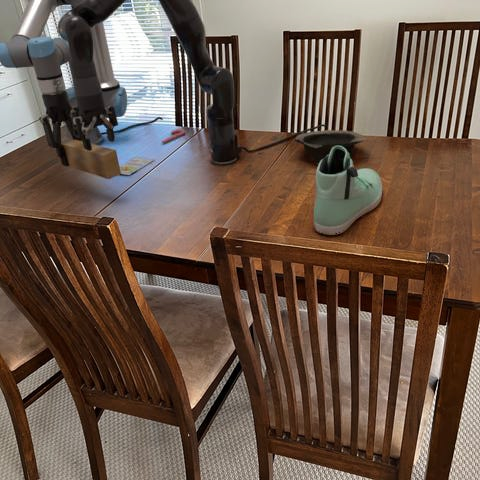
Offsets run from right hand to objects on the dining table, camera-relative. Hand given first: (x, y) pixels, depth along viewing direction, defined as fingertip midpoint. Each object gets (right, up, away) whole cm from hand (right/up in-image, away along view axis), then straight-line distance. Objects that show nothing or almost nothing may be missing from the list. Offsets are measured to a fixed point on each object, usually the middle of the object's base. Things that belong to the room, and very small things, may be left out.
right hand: (100, 145), depth 145 cm
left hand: (-13, -3, +14) cm, 20 cm away
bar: (-6, -6, +10) cm, 13 cm away
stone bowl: (+75, +2, +28) cm, 80 cm away
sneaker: (+74, -20, -6) cm, 77 cm away
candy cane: (+14, +14, +57) cm, 60 cm away
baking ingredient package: (+2, -2, +33) cm, 33 cm away
